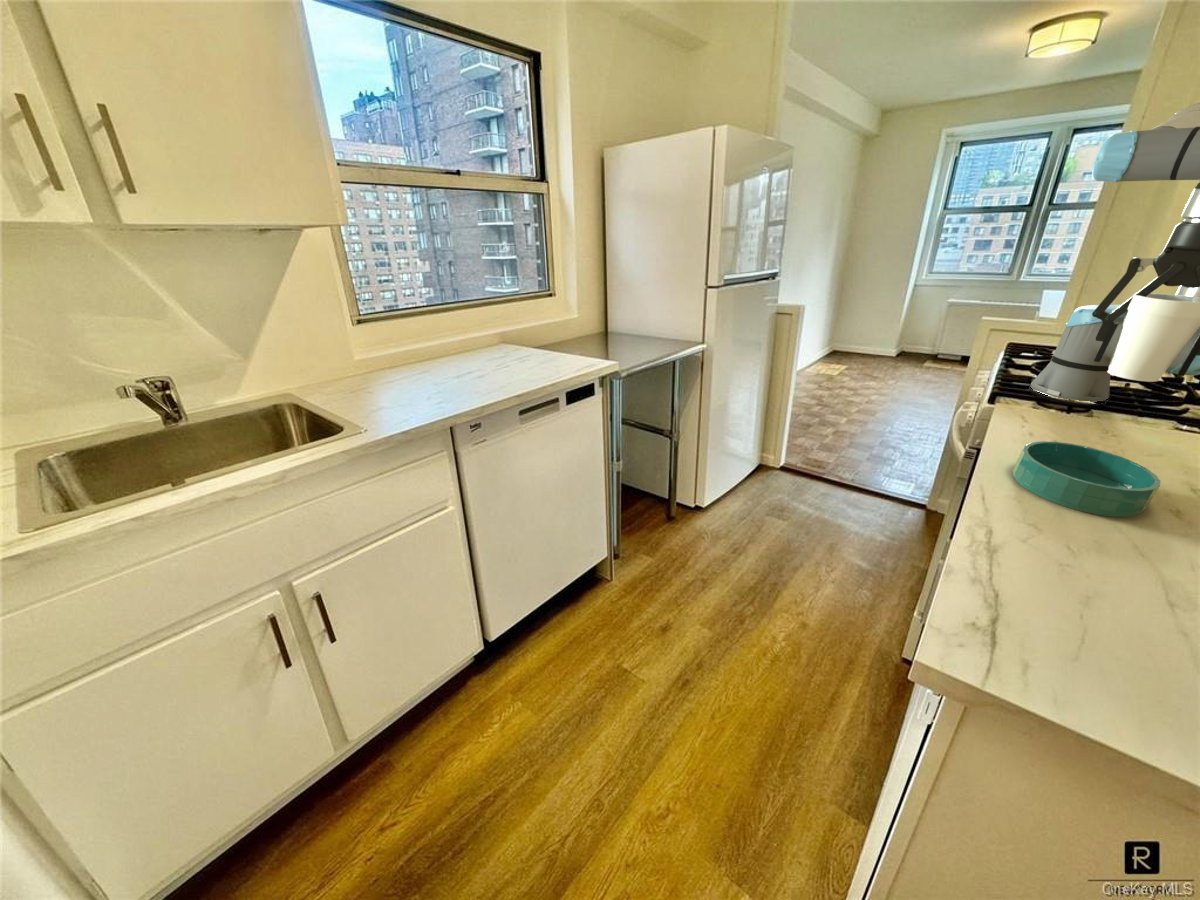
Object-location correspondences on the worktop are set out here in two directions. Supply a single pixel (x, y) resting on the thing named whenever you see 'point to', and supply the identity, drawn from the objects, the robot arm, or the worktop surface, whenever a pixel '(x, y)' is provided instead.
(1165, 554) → the worktop surface
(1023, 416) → the worktop surface
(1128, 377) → the foam cup
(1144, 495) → the teal plant saucer
